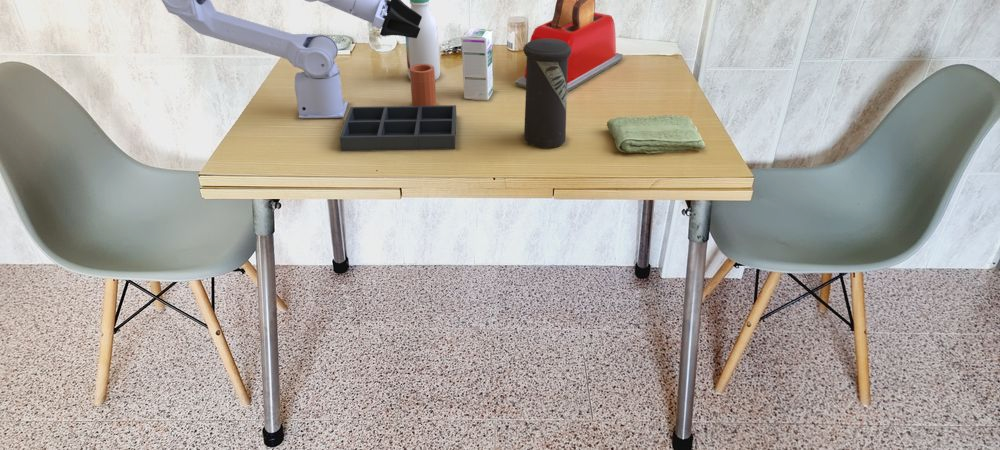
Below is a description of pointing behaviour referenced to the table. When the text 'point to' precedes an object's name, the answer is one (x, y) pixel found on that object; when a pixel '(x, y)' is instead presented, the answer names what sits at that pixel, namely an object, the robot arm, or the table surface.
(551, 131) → the container
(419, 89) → the jar
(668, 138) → the washcloth
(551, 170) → the table surface
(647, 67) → the table surface
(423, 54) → the milk bottle
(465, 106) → the table surface
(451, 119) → the tray
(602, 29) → the toaster
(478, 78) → the syrup box
